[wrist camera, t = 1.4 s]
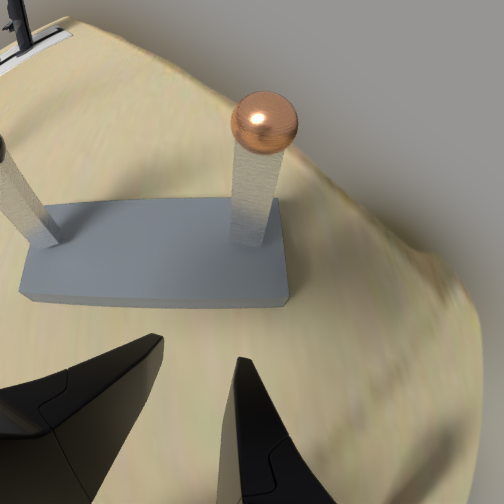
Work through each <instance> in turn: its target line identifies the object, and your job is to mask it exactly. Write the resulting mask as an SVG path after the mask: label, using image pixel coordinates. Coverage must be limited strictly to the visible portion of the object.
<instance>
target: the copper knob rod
mask: <svg viewBox="0 0 504 504" xmlns="http://www.w3.org/2000/svg"><path fill="white" fill-rule="evenodd" d="M231 130H232V133H233V136H234V138H235V146H234V162H233V179H232V196H231V215H230V236H229V242H233V243H238V244H242V245H246V246H251V247H255V248H260V249H261V246H262V242H263V237H264V233H265V229H266V225H267V221H268V217H269V213H270V209H271V205H272V200H273V196H274V192H275V188H276V184H277V180H278V175H279V171H280V167H281V163H282V159H283V154H284V150H285V149H286V148H287V147H288V146H289V145H290V144H291V143H292V142H293V140H294V138H295V136H296V134H297V130H298V116H297V113H296V111H295V109H294V107H293V105H292V104H291V103H290V102H289V101H288V100H287V99H286V98H284V97H283V96H282V95H279V94H277V93H274V92H270V91H259V92H254V93H251V94H249V95H247V96H245V97H244V98H243V99H241V100H240V101H239V102H238V104H237V105H236V106H235V108H234V110H233V113H232V116H231Z"/></svg>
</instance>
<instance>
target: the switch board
mask: <svg viewBox="0 0 504 504" xmlns="http://www.w3.org/2000/svg"><path fill="white" fill-rule="evenodd" d="M44 207H45V209H46V210H47V212H48V213H49V214H50V216H51V217H52V218H53V220H54V221H55V222H56V224H57V225H58V226H59V228H60V234H59V244H56V245H53V246H50V247H47V248H43V249H40V250H36V249H35V248H34V247H33V246H32V245H31V243H30V247H29V250H28V254H27V258H26V261H25V265H24V269H23V274H22V278H21V283H20V287H19V292H20V293H21V294H23V295H24V296H26V297H27V298H29V299H30V300H32V301H35V302H46V303H59V304H73V305H89V306H109V307H134V308H187V309H212V308H265V307H283V306H284V305H285V303H286V301H287V300H288V298H289V289H288V280H287V270H286V261H285V253H284V244H283V236H282V227H281V219H280V211H279V204H278V198H273V200H272V205H271V209H270V213H269V217H268V221H267V225H266V229H265V233H264V237H263V242H262V246H261V249H260V248H255V247H251V246H246V245H242V244H238V243H233V242H229V236H230V215H231V198H165V199H136V200H115V201H97V202H82V203H69V204H56V205H45V206H44Z"/></svg>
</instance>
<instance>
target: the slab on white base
mask: <svg viewBox="0 0 504 504" xmlns="http://www.w3.org/2000/svg"><path fill="white" fill-rule="evenodd" d="M7 9H8V13H9V18H10V19H12V21H11V22H10V23H9V24H7V26H5V27H4V28H3V29H2V30H7V29H9V31H10V32H12V31H15V33H16V37H17V42H18V45H16V46H15V47H13V48H11V49H10V50H8V51H6V52H5V53H3V54H2V55H0V76H1V75H3V74H4V73H6V72H7V71H9V70H11V69H12V68H14V67H15V66H17V65H19V64H20V63H22V62H24V61H25V60H27V59H29V58H30V57H32V56H34V55H36V54H38V53H39V52H41V51H43V50H45V49H47V48H49V47H51V46H53V45H55V44H57V43H59V42H61V41H63V40H65V39H67V38H69V37H72V34H70V33H69V32H67V31H65V30H64V29H62V28H61V27H59V26H57V25H54V26H52V27H50V28H48V29H46V30H44V31H42V32H40V33H38V34H36V35H34V36H32V35H31V31H30V29H29V24H28V19H27V14H26V10H25V5H24V1H23V0H8V7H7Z"/></svg>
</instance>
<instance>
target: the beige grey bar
mask: <svg viewBox="0 0 504 504" xmlns="http://www.w3.org/2000/svg"><path fill="white" fill-rule="evenodd" d="M0 210H1V211H2V213H3V214H4V215H5V216H6V217H7V218H8V219H9V221H10V222H11V223H12V224H13V225H14V226H15V227H16V228H17V230H18V231H19V232H20V233H21V234H22V235H23V236H24V237H25V238H26V239H27V240H28V241H29V242H30V243H31V245H32V246H33V247H34V248H35V249H36V250H40V249H43V248H47V247H50V246H53V245H56V244H59V234H60V228H59V226H58V225H57V224H56V222H55V221H54V220H53V218H52V217H51V216H50V214H49V213H48V212H47V210H46V209H45V207H44V206H43V205H42V203H41V202H40V200H39V199H38V197H37V196H36V195H35V193H34V192H33V190H32V189H31V187H30V186H29V184H28V183H27V181H26V180H25V178H24V177H23V175H22V174H21V172H20V170H19V169H18V167H17V166H16V164H15V162H14V161H13V159H12V157H11V156H10V154H9V152H8V151H7V149H6V146H5V142H4V139H3V137H2V136H1V135H0Z"/></svg>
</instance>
